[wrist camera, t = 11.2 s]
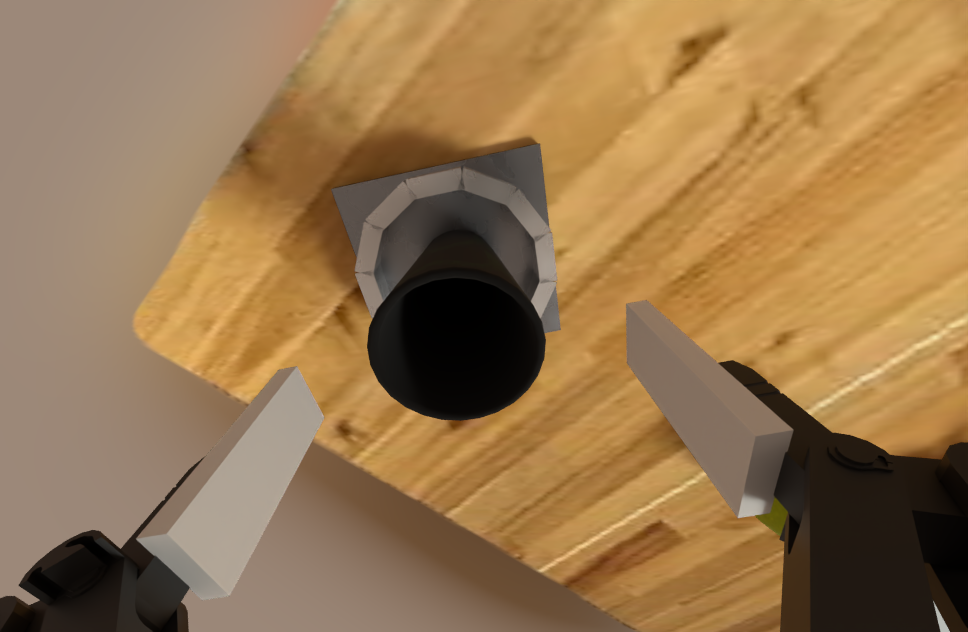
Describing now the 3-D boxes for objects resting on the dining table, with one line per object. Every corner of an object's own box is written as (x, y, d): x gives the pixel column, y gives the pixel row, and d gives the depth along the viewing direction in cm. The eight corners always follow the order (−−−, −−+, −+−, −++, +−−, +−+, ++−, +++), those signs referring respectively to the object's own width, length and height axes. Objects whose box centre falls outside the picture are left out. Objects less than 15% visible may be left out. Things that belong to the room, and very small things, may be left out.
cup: (391, 230, 24) (335, 296, 13) (497, 201, 24) (527, 246, 13) (426, 324, 28) (404, 437, 17) (520, 300, 27) (558, 401, 16)
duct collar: (333, 188, 23) (318, 193, 21) (538, 143, 23) (547, 143, 20) (396, 359, 29) (390, 378, 27) (559, 327, 29) (567, 343, 27)
